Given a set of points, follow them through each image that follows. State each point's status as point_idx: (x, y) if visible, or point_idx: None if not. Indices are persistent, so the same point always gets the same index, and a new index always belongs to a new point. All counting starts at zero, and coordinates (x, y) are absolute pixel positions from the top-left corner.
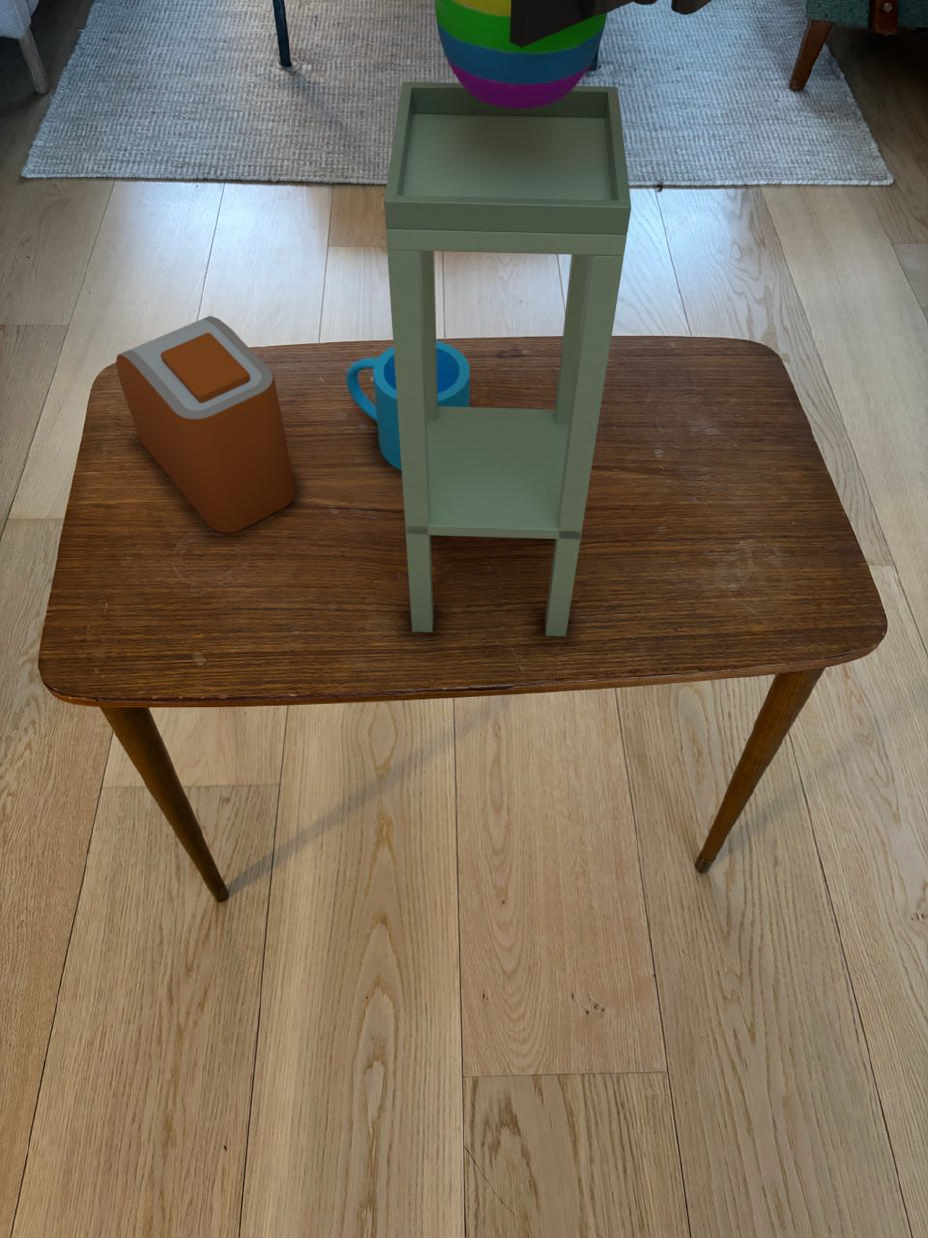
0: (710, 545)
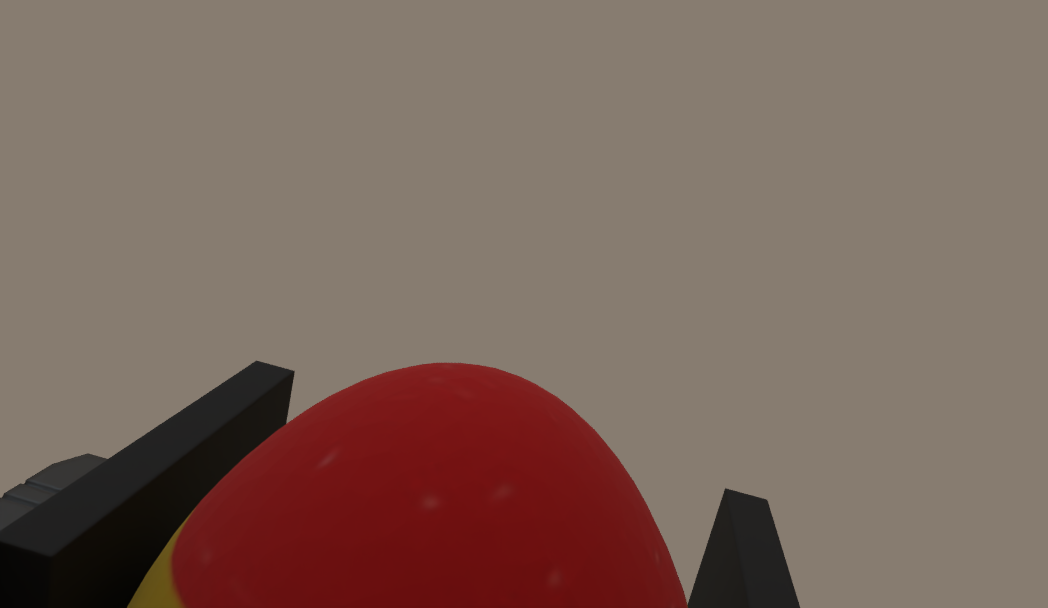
0: None
